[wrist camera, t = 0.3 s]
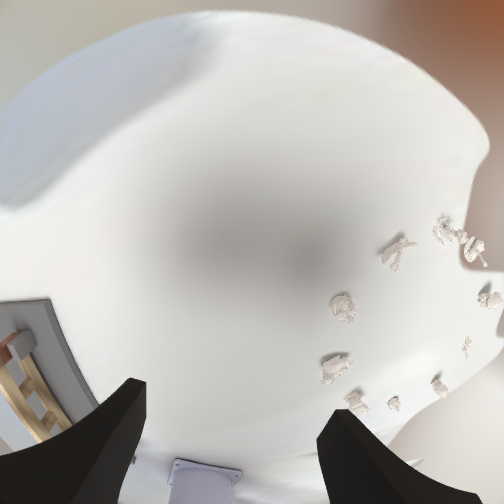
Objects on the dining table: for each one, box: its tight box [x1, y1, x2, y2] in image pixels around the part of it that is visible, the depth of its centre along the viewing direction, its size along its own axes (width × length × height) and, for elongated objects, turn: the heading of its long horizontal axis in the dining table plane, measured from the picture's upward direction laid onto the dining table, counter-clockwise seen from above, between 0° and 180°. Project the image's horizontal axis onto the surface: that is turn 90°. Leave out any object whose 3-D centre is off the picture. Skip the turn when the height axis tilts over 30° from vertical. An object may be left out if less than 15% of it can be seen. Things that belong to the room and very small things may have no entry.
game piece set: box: [321, 216, 503, 416], centre depth 18 cm, size 19×20×4 cm
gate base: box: [0, 300, 136, 464], centre depth 18 cm, size 22×19×4 cm
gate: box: [0, 332, 72, 443], centre depth 16 cm, size 15×2×5 cm, turn 8°
